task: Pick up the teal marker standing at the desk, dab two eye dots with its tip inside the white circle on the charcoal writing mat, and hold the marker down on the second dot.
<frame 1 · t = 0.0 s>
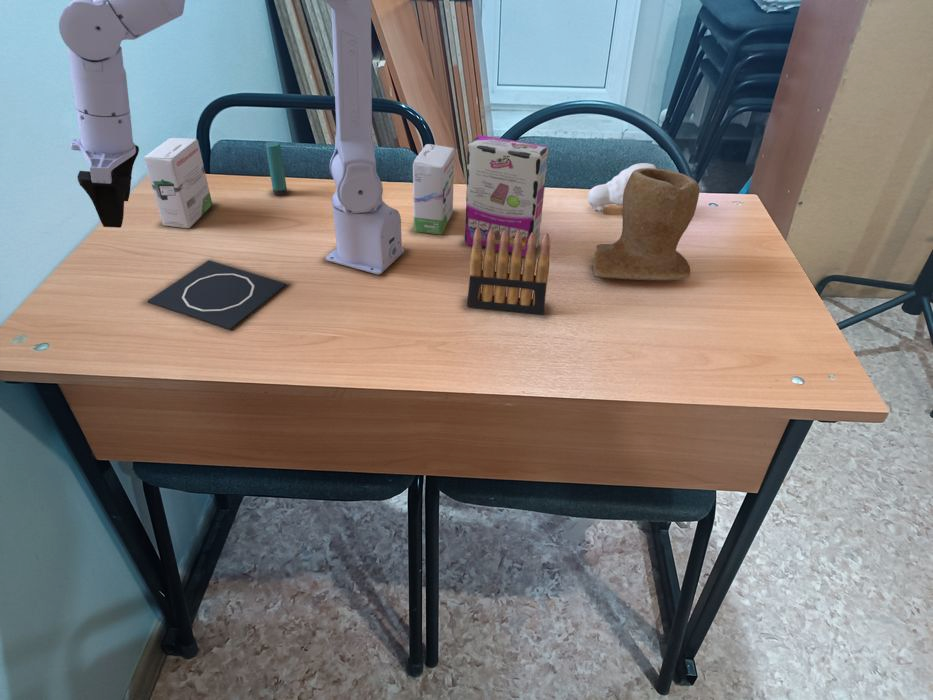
hand: (116, 212, 86), 11 cm above the table, tool pointing down, fingers open, 7 cm apart
ink box: (433, 223, 109), on the table
white rounded piece: (618, 211, 115), on the table
ammunition clip: (505, 308, 90), on the table
marker: (280, 193, 116), on the table
candy bar box: (501, 246, 104), on the table
mat: (219, 293, 90), on the table
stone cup: (635, 269, 100), on the table
ink box 2: (189, 216, 108), on the table
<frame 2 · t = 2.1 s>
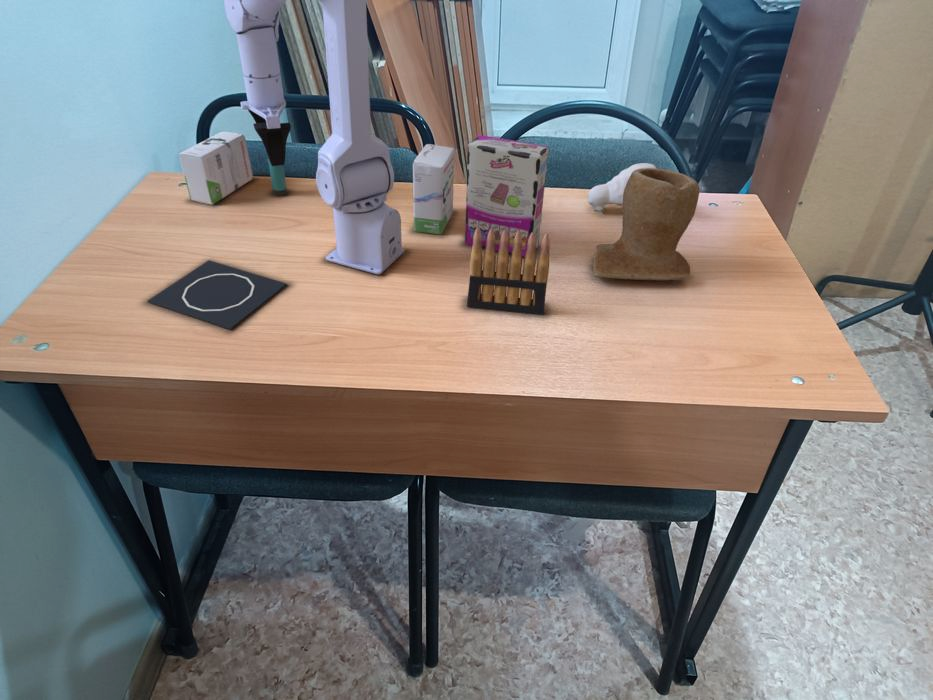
hand: (274, 156, 111), 7 cm above the table, tool pointing down, fingers open, 7 cm apart
ink box 2: (195, 179, 109), point 4 cm above the table
everything else where it was.
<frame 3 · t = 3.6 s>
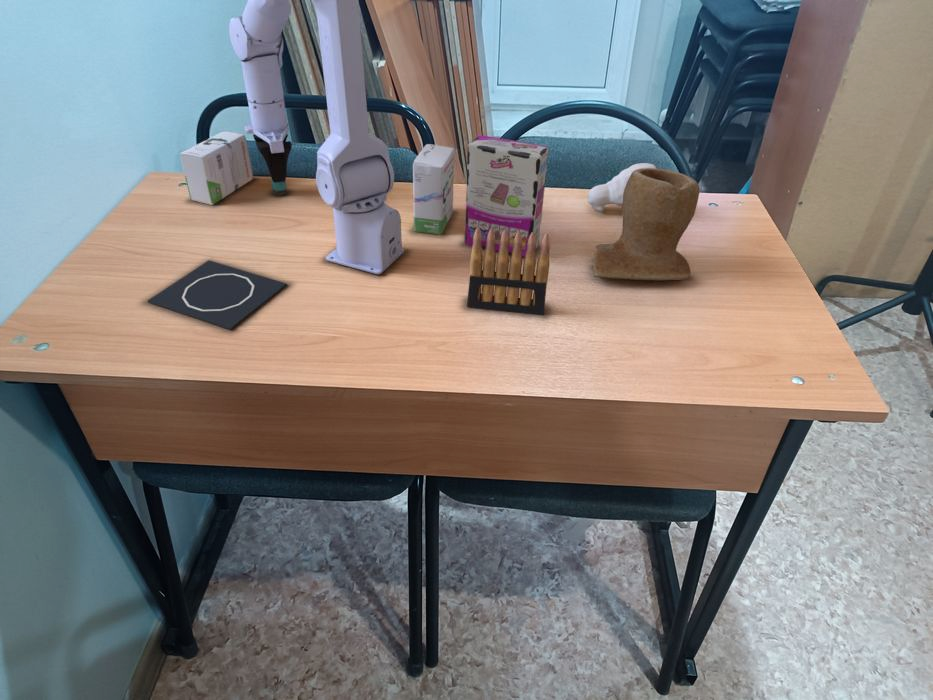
hand: (278, 177, 114), 3 cm above the table, tool pointing down, fingers closed on marker, 2 cm apart
marker: (280, 193, 115), on the table, touching gripper
everything else where it was.
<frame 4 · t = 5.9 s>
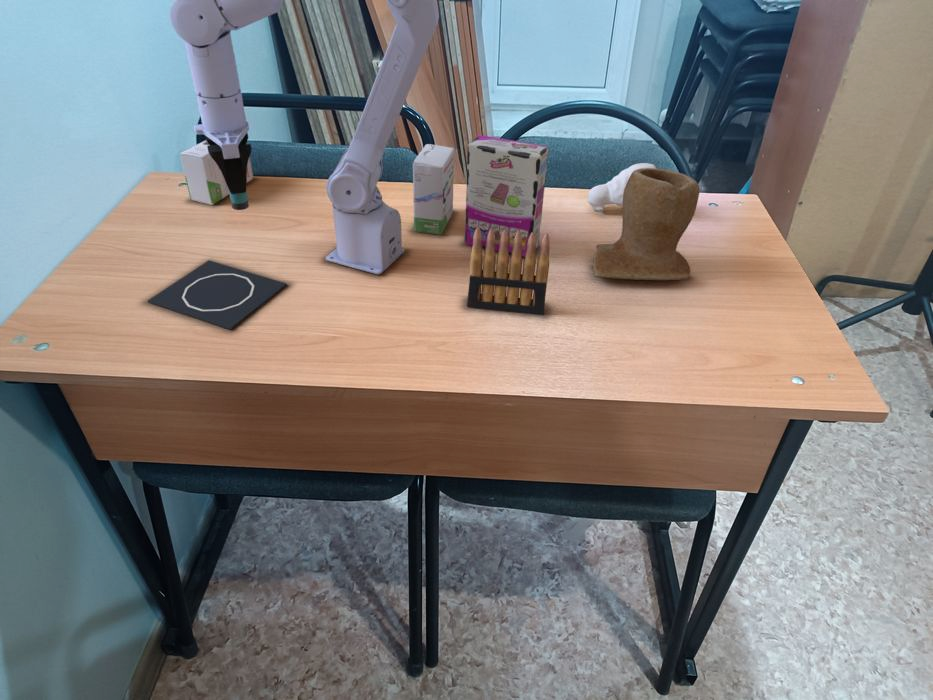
hand: (237, 188, 94), 10 cm above the table, tool pointing down, fingers closed on marker, 2 cm apart
marker: (240, 206, 96), point 7 cm above the table, touching gripper
everything else where it was.
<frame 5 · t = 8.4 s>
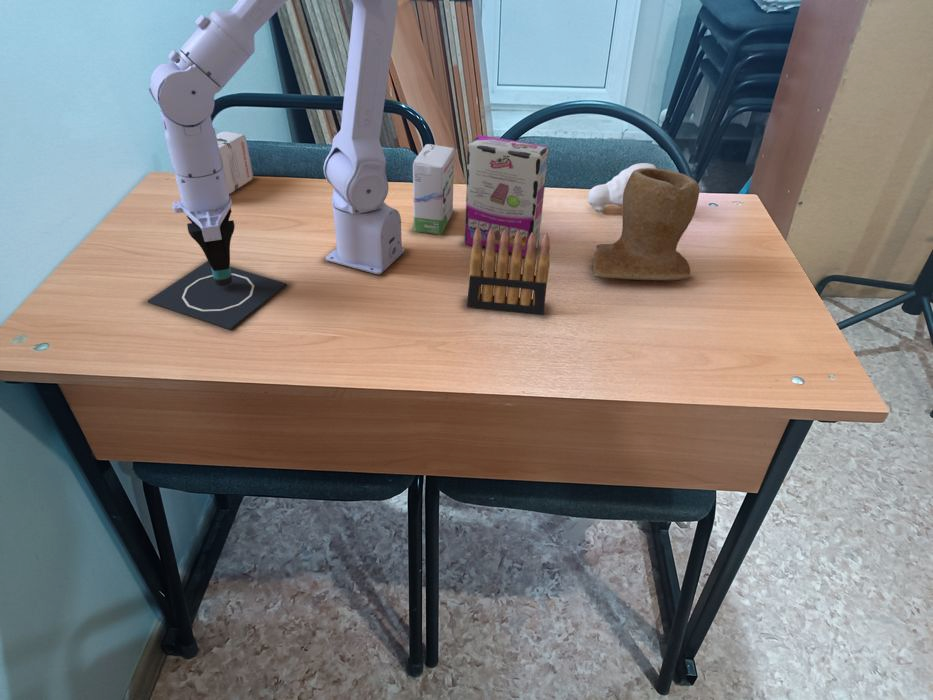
hand: (220, 263, 89), 4 cm above the table, tool pointing down, fingers closed on marker, 2 cm apart
marker: (223, 281, 90), point 1 cm above the table, touching gripper
everything else where it was.
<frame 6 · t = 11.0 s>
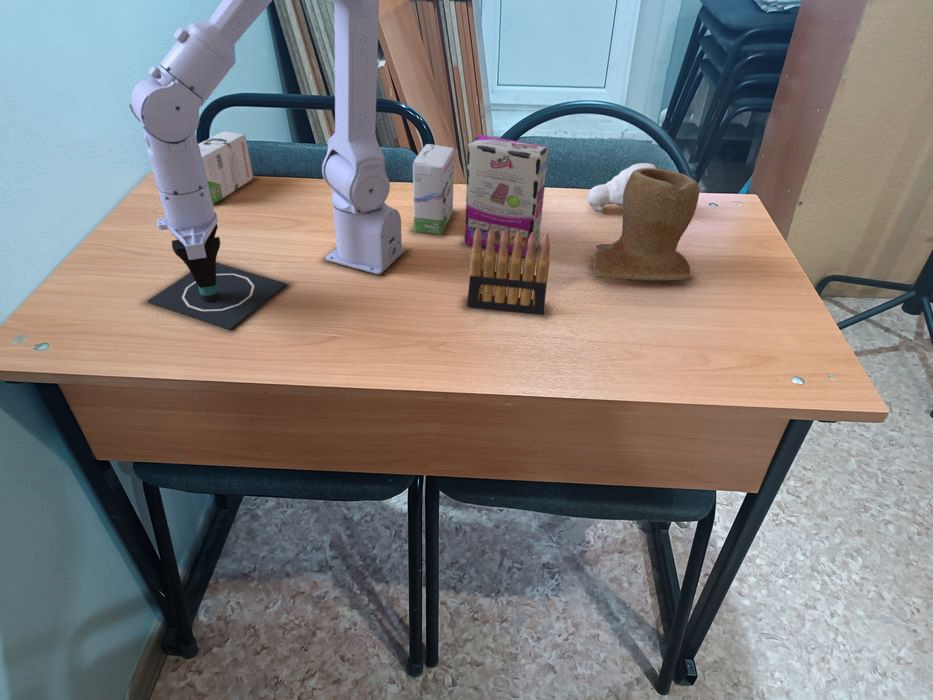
hand: (206, 279, 87), 3 cm above the table, tool pointing down, fingers closed on marker, 2 cm apart
marker: (210, 297, 89), resting on mat, touching gripper
everything else where it was.
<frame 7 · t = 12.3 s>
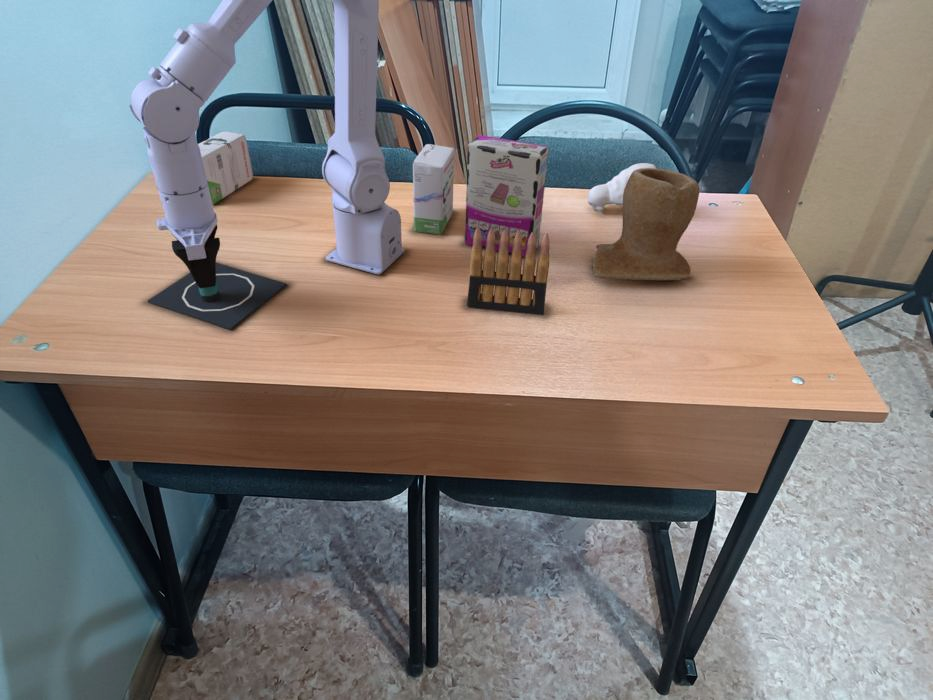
hand: (206, 280, 87), 3 cm above the table, tool pointing down, fingers closed on marker, 2 cm apart
marker: (210, 297, 89), resting on mat, touching gripper
everything else where it was.
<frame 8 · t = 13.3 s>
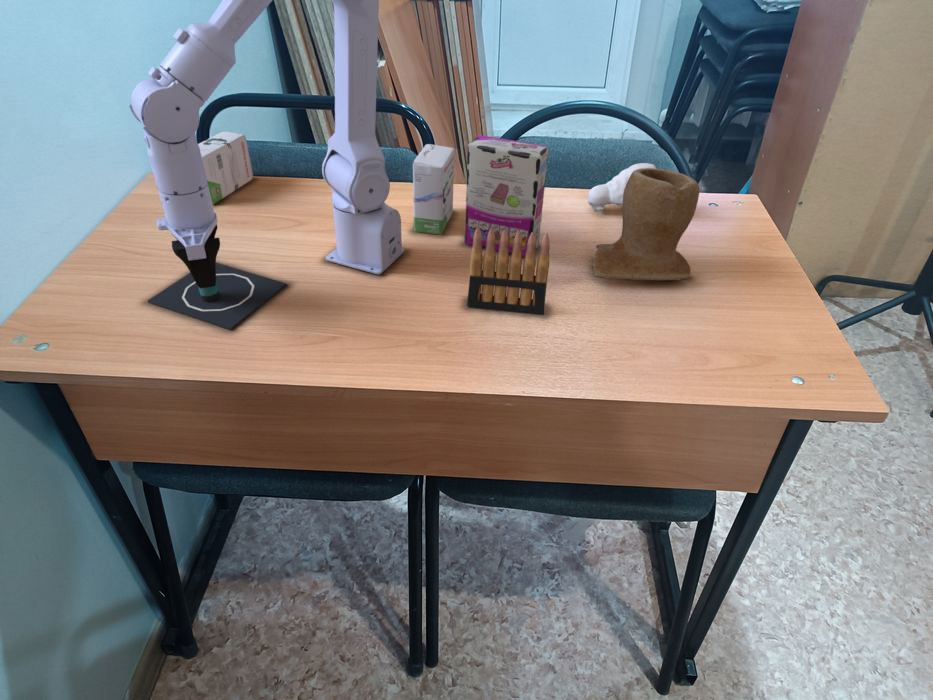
hand: (206, 280, 87), 3 cm above the table, tool pointing down, fingers closed on marker, 2 cm apart
marker: (210, 297, 89), resting on mat, touching gripper
everything else where it was.
at the end: the gripper is holding marker; marker touching gripper, mat; marker 1.4 cm off-centre on the mat, point 0.3 cm above the mat's base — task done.
